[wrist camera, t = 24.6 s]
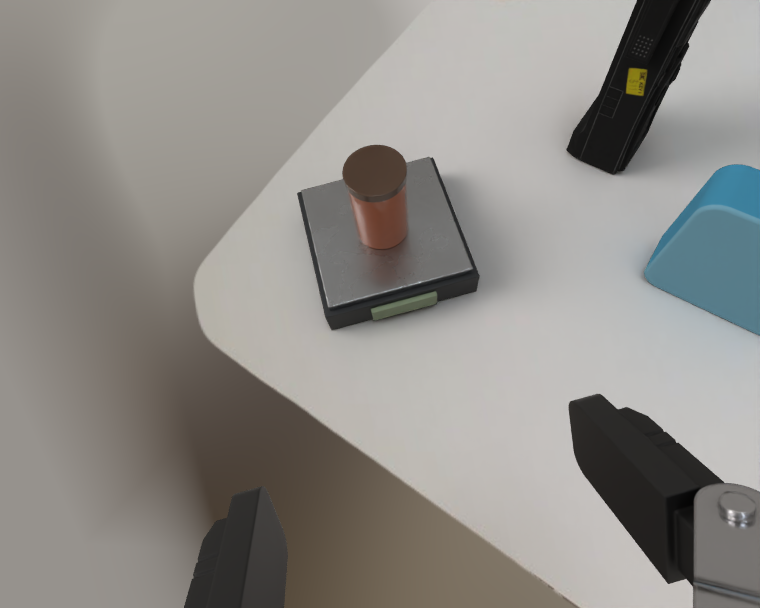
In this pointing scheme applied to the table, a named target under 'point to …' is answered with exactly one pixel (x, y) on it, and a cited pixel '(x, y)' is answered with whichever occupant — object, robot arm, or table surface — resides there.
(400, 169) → the spice tin
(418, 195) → the scale pan
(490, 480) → the table surface
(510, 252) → the table surface
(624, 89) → the portable radio
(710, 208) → the data package
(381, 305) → the scale
